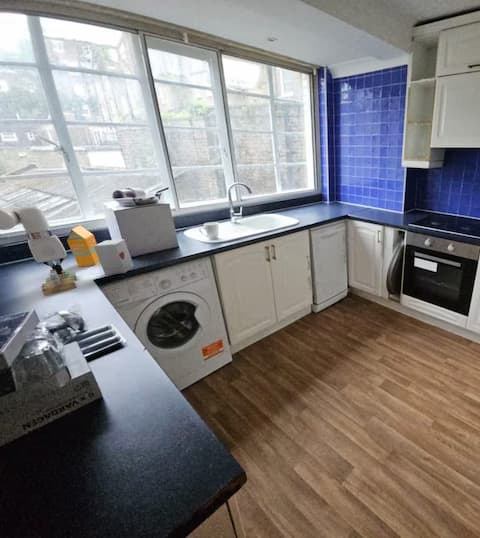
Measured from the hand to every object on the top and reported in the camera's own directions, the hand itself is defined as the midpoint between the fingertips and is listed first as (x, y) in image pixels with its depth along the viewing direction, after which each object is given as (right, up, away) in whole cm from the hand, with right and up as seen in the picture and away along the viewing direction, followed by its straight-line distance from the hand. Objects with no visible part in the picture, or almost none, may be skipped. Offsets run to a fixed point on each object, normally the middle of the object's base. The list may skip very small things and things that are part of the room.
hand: (59, 273), depth 135 cm
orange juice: (-6, +5, +23) cm, 24 cm away
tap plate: (+7, -7, -6) cm, 11 cm away
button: (0, -2, +1) cm, 2 cm away
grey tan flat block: (+7, -4, -7) cm, 11 cm away
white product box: (+19, +1, +12) cm, 22 cm away
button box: (0, -4, +2) cm, 4 cm away
